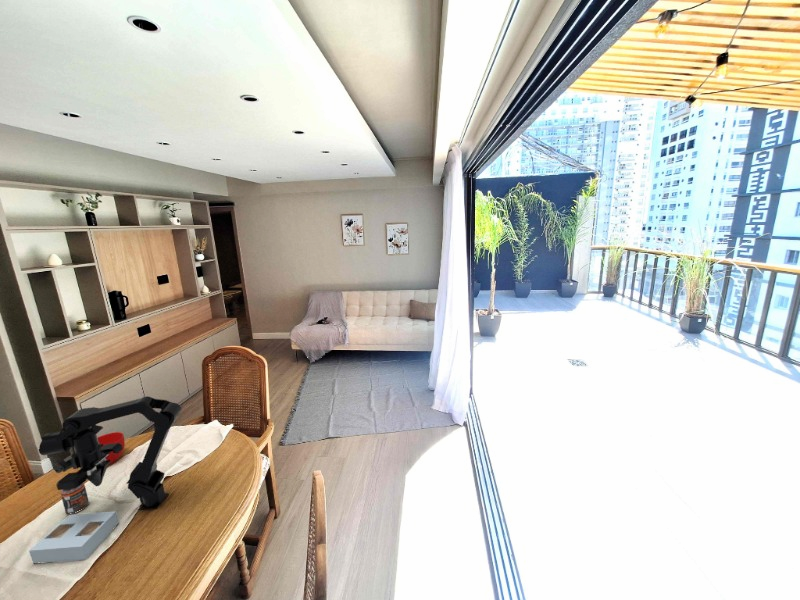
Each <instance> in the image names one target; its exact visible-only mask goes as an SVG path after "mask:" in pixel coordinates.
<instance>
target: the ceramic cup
mask: <svg viewBox="0 0 800 600" xmlns="http://www.w3.org/2000/svg"><path fill="white" fill-rule="evenodd" d="M97 438H98V442H99V444H100V443H103V446H104V445H105V444H112V443H120V444H122V447H123V449H122V450H121V451H120V452H119V453H118V454H114V453H113V451H112V452H110V454H109V455H108V456H106V457H105V459H106V460H111V462H110V463H109V464H108V466H109V465H112V464H114V463H115V462H117V461H118V460H119V458H120V457H121V455H122V454H123V452H124V451H125V450H124V449H125V444H126V442H125V435H124V433H123V432H121V431H120V432H119V431H118V432H110V433H106V434H103V435H100V436H97ZM101 448H102V447H101Z"/></svg>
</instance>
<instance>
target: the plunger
mask: <svg viewBox="0 0 800 600" xmlns="http://www.w3.org/2000/svg"><path fill="white" fill-rule="evenodd" d="M69 529H70V526H69V524H65V525H62V526H60V527H58V528H56V529H55V530H54V531H53V532H52V533H51V537H52V538H61V537H62V536H63V535H64V534H65V533H66V532H67V531H68V530H69Z"/></svg>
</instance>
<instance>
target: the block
mask: <svg viewBox="0 0 800 600" xmlns="http://www.w3.org/2000/svg"><path fill="white" fill-rule="evenodd" d="M118 517H119V516H118V514H117V511H114V510H113V511H102V512H89V513H74V514H68V516H67V517H65V518H64V519H63V520H62V521H61V522H59V524H57V525H56V526H55V527H54V528H53V529H52V530H51V531H50V532H48V533H47V534H46V535H45V536H44V537H43V538H41V539H40V540H39V541H38V542H36V544H35V545H34V546H32V547H31V548H30V549H29V550H28V551H29V556H30V557H31V561H32V564H33V563H38V562H53V563H62V562H63V563H64V561H65V562H75V561H86V560H87V559H88V558H89V557H90V556H91V555H92V554H93V552H94V551H95V550H97V548H98V547H100V546H101V544H102V543H103V542H104V541H105V540H106V538H107V537H108V536H110V534H111V533H112V532H113V531H114V530H113V528H114V527H115V526H116V525H117V524H118V523H119V524H120V522H119V521H120V520H119V518H118ZM93 522H98V523H99V527H98V528H97V529H96V530H95V531H94V532H93V533H92V534H91V535H86V536H82V534H81V531H82V529H83V528H84V527H86V526H87V525H89V524H91V523H93ZM65 524H69V526H70V529H69V530H68V531H67V532H66V533H65V534H64V535H63V536H62V537H61V538H52V537H51V533H52V532H53V531H54V530H55V529H56V528H58V527H60V526H62V525H65ZM119 524H118V525H119ZM118 525H117V526H118ZM117 526H116V527H117ZM116 527H115V528H116ZM112 530H113V531H112ZM111 531H112V532H111Z"/></svg>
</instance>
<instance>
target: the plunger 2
mask: <svg viewBox="0 0 800 600" xmlns="http://www.w3.org/2000/svg"><path fill="white" fill-rule="evenodd" d="M98 527H99V523H98V522H93V523H91V524H89V525H87V526H86V527H84V528H83V529H82V531H81V534H82V536H86V535H91V534H92V533H93V532H94V531H95V530H96V529H97V528H98Z"/></svg>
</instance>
